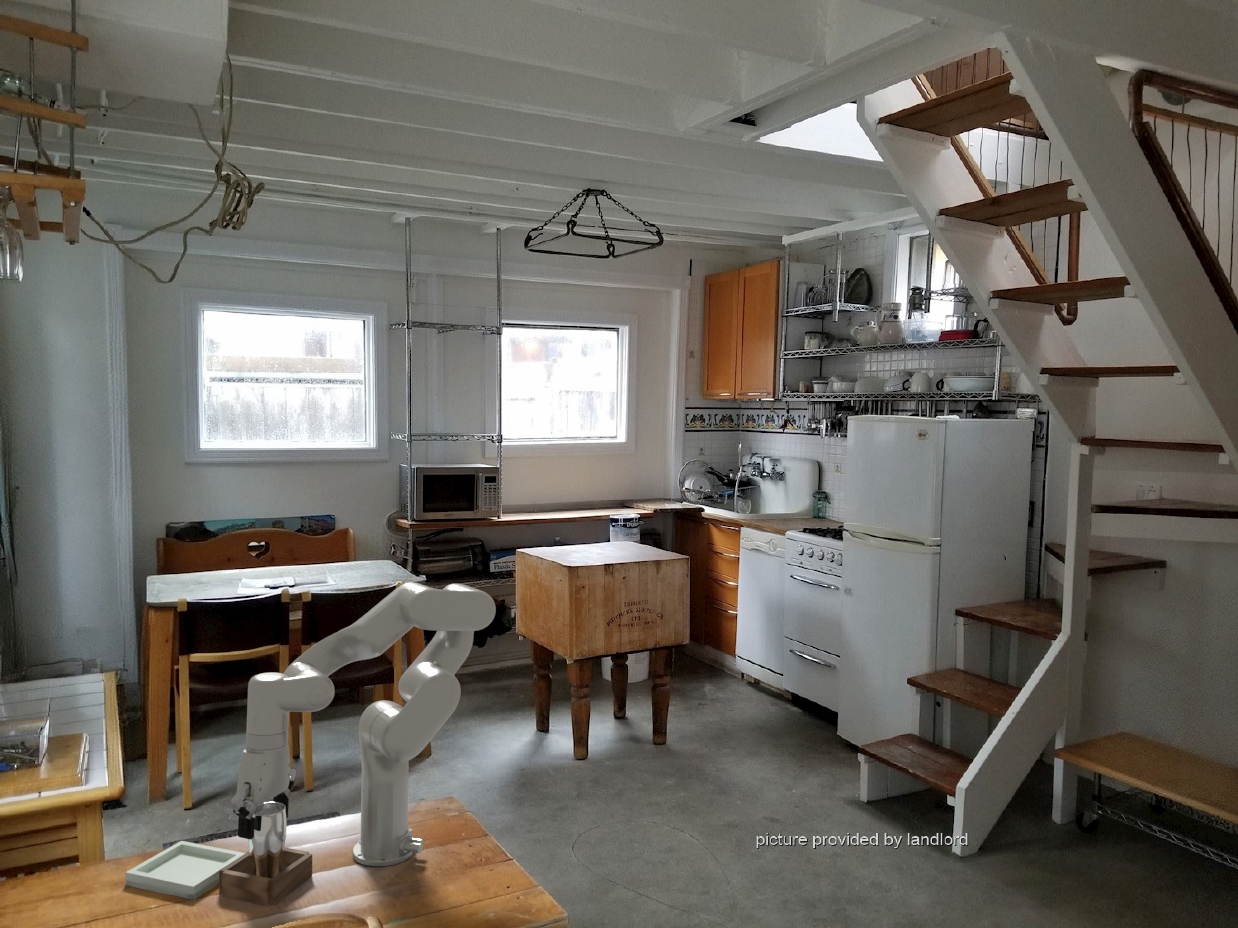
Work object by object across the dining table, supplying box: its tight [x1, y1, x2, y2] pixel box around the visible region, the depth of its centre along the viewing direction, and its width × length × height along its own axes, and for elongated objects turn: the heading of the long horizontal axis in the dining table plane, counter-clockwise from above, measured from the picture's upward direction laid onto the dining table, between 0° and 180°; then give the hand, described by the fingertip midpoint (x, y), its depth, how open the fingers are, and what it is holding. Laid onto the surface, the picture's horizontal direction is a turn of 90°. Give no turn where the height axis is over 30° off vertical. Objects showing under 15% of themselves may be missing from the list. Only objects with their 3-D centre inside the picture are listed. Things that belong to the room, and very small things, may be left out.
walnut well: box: [218, 846, 313, 906], centre depth 171 cm, size 12×12×4 cm
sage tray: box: [124, 840, 246, 901], centre depth 174 cm, size 16×14×2 cm
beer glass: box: [247, 801, 287, 879], centre depth 170 cm, size 7×7×15 cm
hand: (263, 827), depth 170 cm, fingers open, 9 cm apart
